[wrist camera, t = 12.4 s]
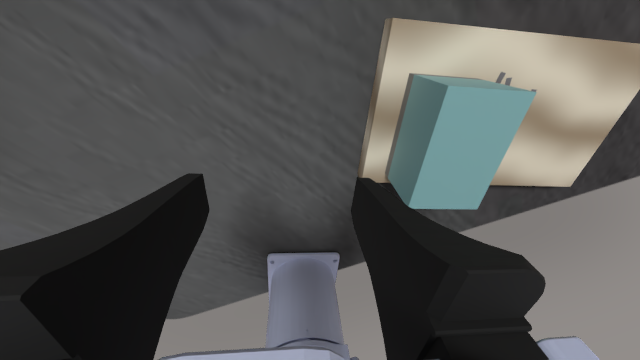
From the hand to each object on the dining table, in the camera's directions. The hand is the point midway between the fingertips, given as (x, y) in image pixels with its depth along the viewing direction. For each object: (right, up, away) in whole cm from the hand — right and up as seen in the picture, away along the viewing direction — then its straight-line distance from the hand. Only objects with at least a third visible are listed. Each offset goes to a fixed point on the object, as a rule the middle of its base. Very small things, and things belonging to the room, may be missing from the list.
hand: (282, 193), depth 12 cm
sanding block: (+10, +5, +8) cm, 14 cm away
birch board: (+16, +6, +9) cm, 20 cm away
